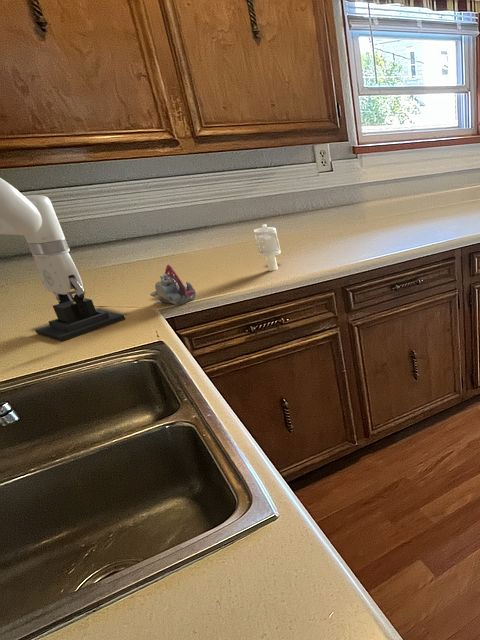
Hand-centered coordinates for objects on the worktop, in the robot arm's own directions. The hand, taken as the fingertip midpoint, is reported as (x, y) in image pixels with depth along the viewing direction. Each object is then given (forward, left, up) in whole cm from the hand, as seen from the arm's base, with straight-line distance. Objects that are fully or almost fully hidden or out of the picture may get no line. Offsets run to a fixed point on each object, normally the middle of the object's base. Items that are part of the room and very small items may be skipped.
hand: (77, 314), depth 137 cm
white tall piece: (+58, -9, -4) cm, 59 cm away
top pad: (0, 0, -1) cm, 1 cm away
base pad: (0, 0, -3) cm, 3 cm away
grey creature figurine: (+23, -7, -4) cm, 24 cm away
